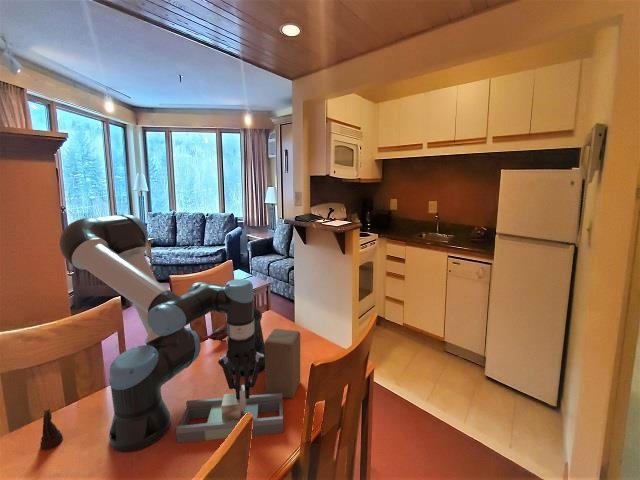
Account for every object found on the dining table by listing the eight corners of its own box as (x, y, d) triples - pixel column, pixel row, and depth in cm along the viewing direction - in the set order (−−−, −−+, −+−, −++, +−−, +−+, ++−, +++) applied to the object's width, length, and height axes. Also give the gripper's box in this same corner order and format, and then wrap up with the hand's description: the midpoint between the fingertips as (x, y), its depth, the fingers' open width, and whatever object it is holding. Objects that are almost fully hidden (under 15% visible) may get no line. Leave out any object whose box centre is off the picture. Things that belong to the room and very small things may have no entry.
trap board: (177, 442, 84) (175, 428, 84) (188, 413, 95) (187, 400, 94) (283, 432, 88) (283, 418, 88) (282, 405, 99) (282, 392, 98)
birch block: (222, 421, 88) (221, 405, 87) (224, 408, 93) (224, 394, 92) (240, 419, 89) (239, 404, 88) (241, 407, 94) (241, 392, 93)
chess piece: (64, 433, 87) (58, 402, 85) (61, 446, 83) (55, 414, 81) (42, 440, 85) (36, 408, 83) (38, 454, 80) (32, 421, 79)
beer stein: (253, 382, 110) (251, 317, 106) (210, 369, 117) (206, 308, 113) (276, 358, 125) (275, 300, 121) (236, 348, 133) (234, 293, 128)
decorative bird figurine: (238, 337, 142) (237, 317, 140) (202, 353, 129) (201, 330, 127) (234, 335, 144) (233, 315, 142) (198, 350, 130) (197, 328, 129)
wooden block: (293, 400, 102) (292, 344, 98) (264, 395, 103) (263, 341, 100) (301, 381, 111) (301, 330, 107) (274, 377, 113) (273, 327, 109)
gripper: (214, 342, 82) (218, 419, 87) (263, 339, 84) (265, 414, 89) (219, 329, 90) (222, 400, 94) (264, 326, 92) (265, 397, 96)
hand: (243, 407), depth 91 cm, fingers closed
